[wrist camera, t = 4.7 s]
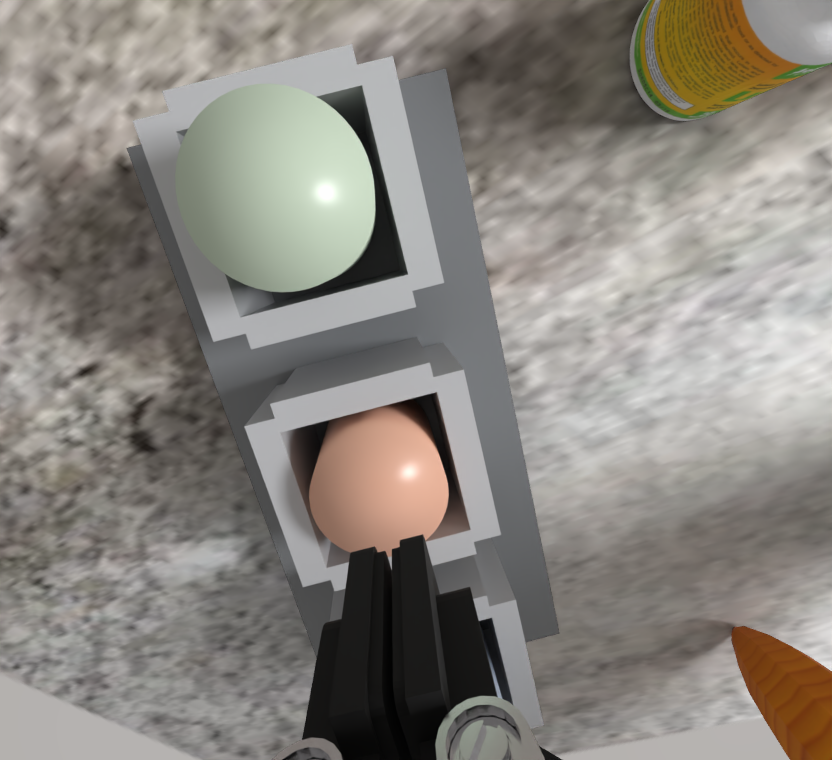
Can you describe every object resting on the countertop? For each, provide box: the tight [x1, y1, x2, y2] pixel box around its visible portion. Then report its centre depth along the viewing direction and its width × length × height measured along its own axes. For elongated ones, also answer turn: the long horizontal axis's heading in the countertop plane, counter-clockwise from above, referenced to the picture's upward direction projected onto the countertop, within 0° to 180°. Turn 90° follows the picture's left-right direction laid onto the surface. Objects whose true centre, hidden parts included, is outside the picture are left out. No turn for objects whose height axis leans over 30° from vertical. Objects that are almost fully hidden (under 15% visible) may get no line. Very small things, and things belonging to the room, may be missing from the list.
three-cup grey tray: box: [127, 44, 559, 729], centre depth 19 cm, size 12×26×7 cm, turn 14°
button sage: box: [175, 84, 376, 292], centre depth 13 cm, size 4×4×5 cm
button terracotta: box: [309, 399, 449, 557], centre depth 18 cm, size 4×4×5 cm
